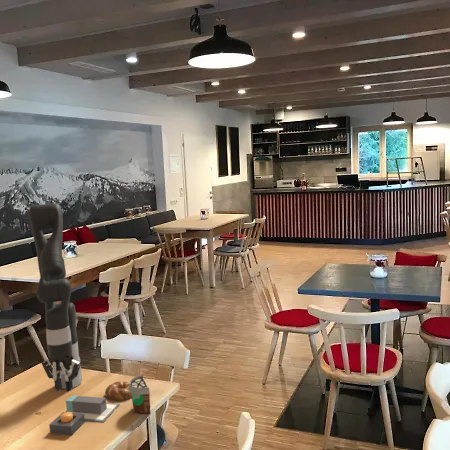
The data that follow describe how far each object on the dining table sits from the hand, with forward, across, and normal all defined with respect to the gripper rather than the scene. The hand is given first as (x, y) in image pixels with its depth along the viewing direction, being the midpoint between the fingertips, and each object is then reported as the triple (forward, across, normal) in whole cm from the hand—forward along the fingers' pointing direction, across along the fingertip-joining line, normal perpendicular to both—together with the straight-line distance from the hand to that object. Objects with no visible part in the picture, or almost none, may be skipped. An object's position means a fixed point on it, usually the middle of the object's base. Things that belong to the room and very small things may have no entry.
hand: (64, 390), depth 160 cm
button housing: (+13, 0, 0) cm, 13 cm away
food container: (+13, -19, -15) cm, 28 cm away
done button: (+11, 0, 0) cm, 11 cm away
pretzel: (+14, -7, -25) cm, 30 cm away
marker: (+13, -1, -11) cm, 17 cm away
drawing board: (+13, -2, -11) cm, 17 cm away
